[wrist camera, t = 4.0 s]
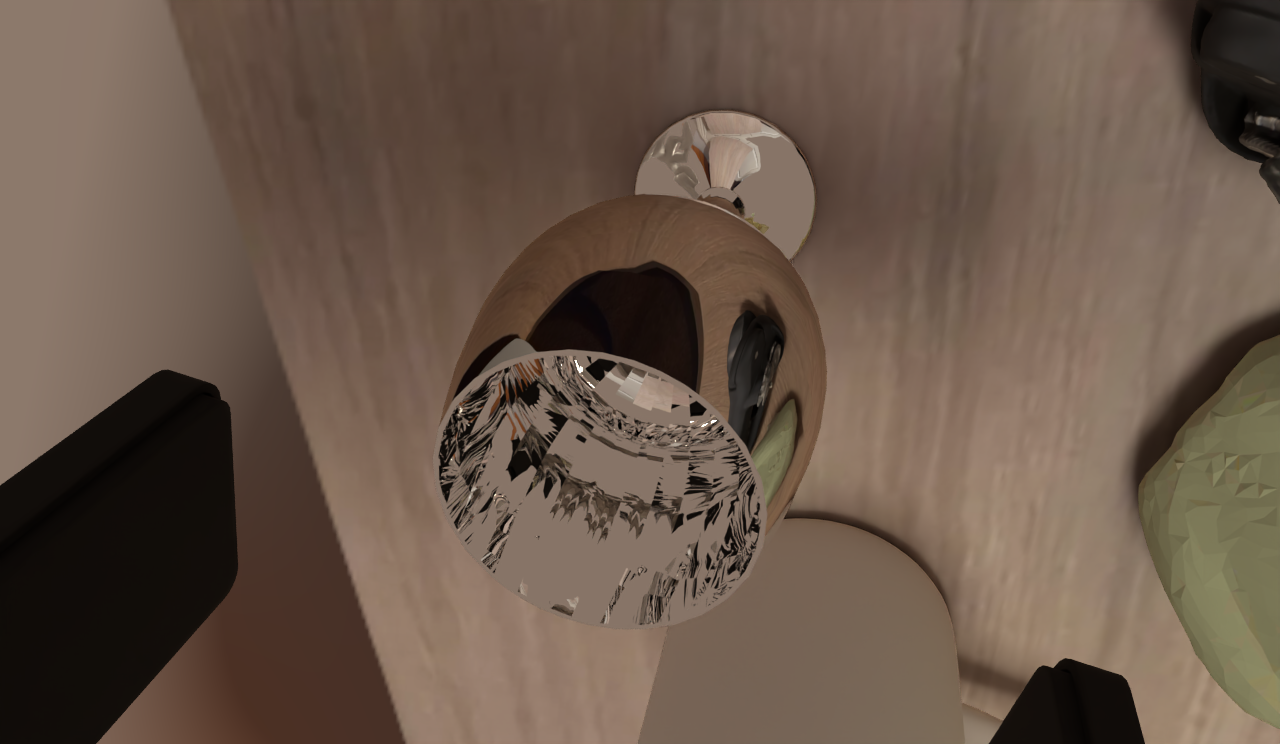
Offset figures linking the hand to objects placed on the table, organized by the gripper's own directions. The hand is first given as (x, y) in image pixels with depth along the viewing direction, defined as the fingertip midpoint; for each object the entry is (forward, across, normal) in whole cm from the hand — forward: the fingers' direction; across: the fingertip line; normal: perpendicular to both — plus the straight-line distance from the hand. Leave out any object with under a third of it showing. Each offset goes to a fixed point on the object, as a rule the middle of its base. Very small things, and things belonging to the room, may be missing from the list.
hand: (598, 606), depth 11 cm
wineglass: (+14, +1, 0) cm, 14 cm away
